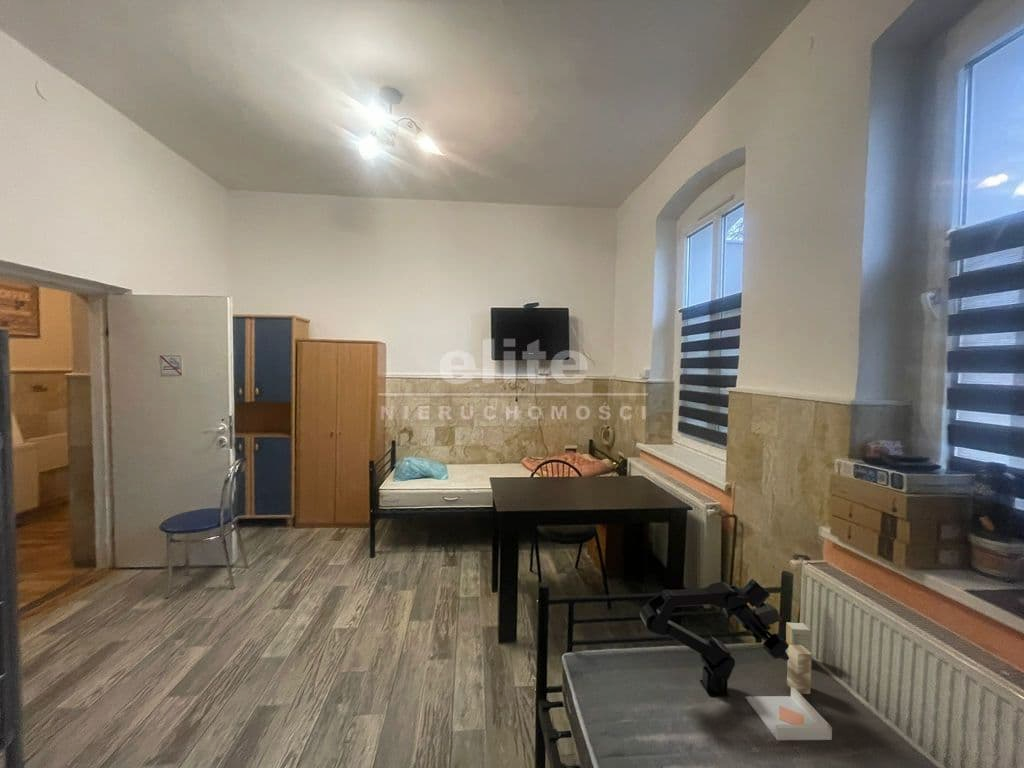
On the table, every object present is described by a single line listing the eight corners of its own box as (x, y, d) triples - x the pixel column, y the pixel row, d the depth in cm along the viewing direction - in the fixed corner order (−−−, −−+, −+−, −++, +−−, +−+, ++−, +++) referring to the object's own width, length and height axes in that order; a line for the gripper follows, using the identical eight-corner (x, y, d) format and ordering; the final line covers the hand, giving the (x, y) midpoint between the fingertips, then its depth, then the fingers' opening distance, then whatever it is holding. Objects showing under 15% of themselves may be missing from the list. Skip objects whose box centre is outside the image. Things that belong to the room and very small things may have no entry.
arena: (777, 740, 116) (778, 727, 116) (745, 698, 131) (745, 687, 131) (831, 739, 116) (832, 727, 116) (793, 698, 131) (793, 687, 131)
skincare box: (803, 655, 152) (804, 622, 152) (810, 664, 147) (811, 630, 147) (784, 654, 152) (785, 621, 152) (791, 662, 148) (792, 628, 148)
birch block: (796, 693, 133) (798, 654, 133) (786, 683, 138) (788, 644, 138) (810, 693, 133) (811, 654, 133) (799, 683, 138) (801, 644, 138)
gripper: (783, 615, 125) (817, 651, 126) (746, 584, 144) (776, 615, 144) (757, 641, 125) (791, 677, 126) (723, 606, 144) (753, 637, 144)
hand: (778, 649), depth 135 cm, fingers open, 9 cm apart
